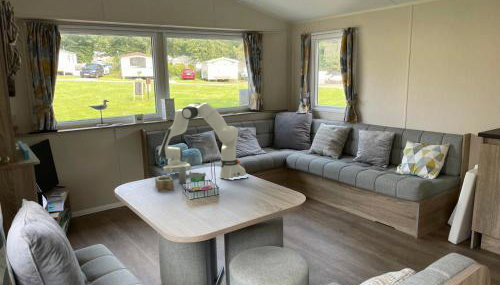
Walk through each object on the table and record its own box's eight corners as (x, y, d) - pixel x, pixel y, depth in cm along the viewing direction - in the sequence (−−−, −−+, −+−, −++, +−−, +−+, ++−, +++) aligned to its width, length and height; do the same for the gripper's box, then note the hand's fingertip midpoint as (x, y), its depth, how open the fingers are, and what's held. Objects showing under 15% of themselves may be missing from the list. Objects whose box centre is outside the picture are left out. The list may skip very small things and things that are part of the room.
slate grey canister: (185, 181, 269) (184, 165, 267) (186, 183, 265) (186, 167, 263) (178, 182, 268) (178, 166, 265) (179, 184, 263) (179, 168, 261)
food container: (186, 187, 257) (185, 173, 255) (190, 184, 262) (189, 171, 261) (202, 188, 253) (202, 174, 251) (205, 186, 259) (205, 172, 257)
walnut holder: (170, 184, 263) (169, 175, 262) (173, 189, 250) (173, 180, 249) (155, 185, 259) (155, 176, 258) (158, 191, 246) (158, 182, 245)
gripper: (162, 163, 284) (165, 167, 272) (188, 161, 292) (192, 165, 279) (162, 171, 285) (165, 175, 273) (188, 169, 293) (192, 173, 280)
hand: (179, 170), depth 276 cm, fingers open, 8 cm apart
